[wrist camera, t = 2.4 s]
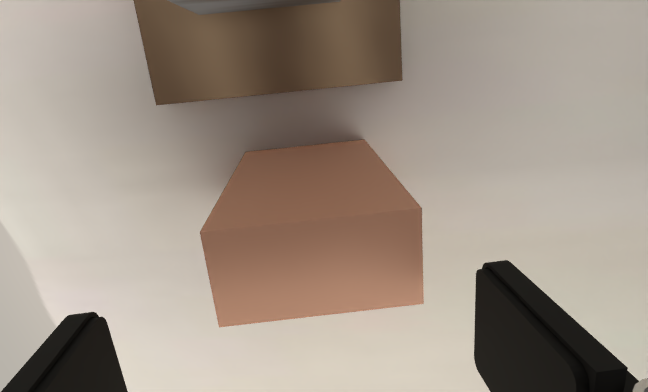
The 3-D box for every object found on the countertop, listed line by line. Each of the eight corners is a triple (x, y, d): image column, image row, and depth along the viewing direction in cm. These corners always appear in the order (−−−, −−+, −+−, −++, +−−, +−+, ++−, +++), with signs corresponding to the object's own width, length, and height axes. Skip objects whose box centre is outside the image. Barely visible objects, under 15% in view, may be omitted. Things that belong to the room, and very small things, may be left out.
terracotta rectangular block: (364, 139, 25) (421, 208, 13) (367, 195, 26) (423, 303, 14) (245, 151, 24) (199, 232, 13) (254, 207, 26) (219, 326, 14)
